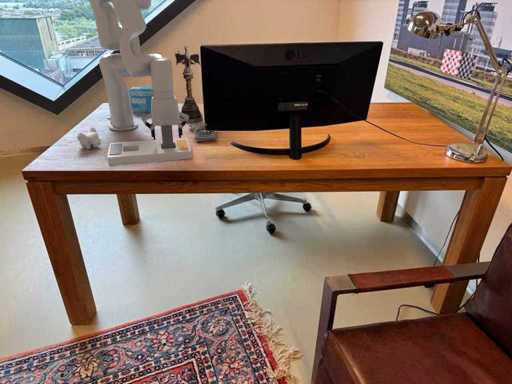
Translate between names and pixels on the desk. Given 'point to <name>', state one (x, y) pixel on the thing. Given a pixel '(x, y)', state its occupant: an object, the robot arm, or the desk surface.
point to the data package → (140, 99)
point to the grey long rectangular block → (167, 137)
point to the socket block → (147, 151)
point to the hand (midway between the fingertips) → (167, 137)
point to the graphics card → (202, 133)
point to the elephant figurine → (89, 139)
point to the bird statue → (189, 86)
